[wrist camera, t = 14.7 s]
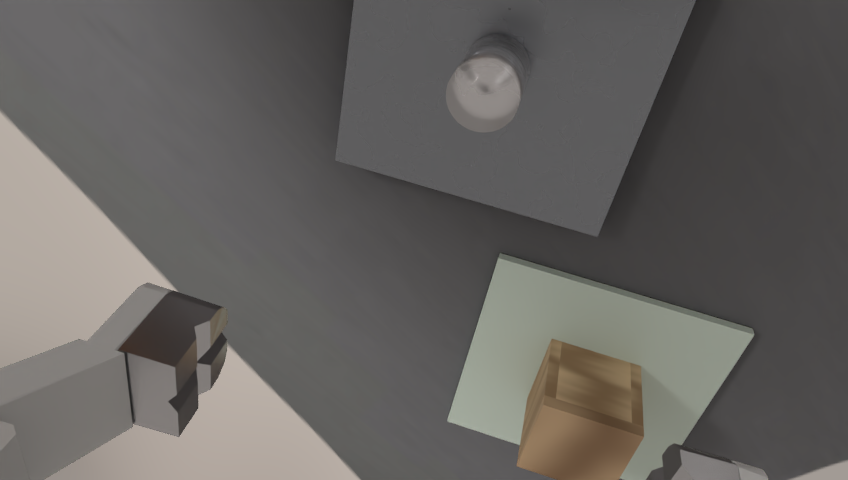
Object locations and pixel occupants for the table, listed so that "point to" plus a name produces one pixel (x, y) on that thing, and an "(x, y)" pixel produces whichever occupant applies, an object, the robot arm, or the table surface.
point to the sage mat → (600, 332)
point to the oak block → (582, 415)
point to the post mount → (507, 97)
